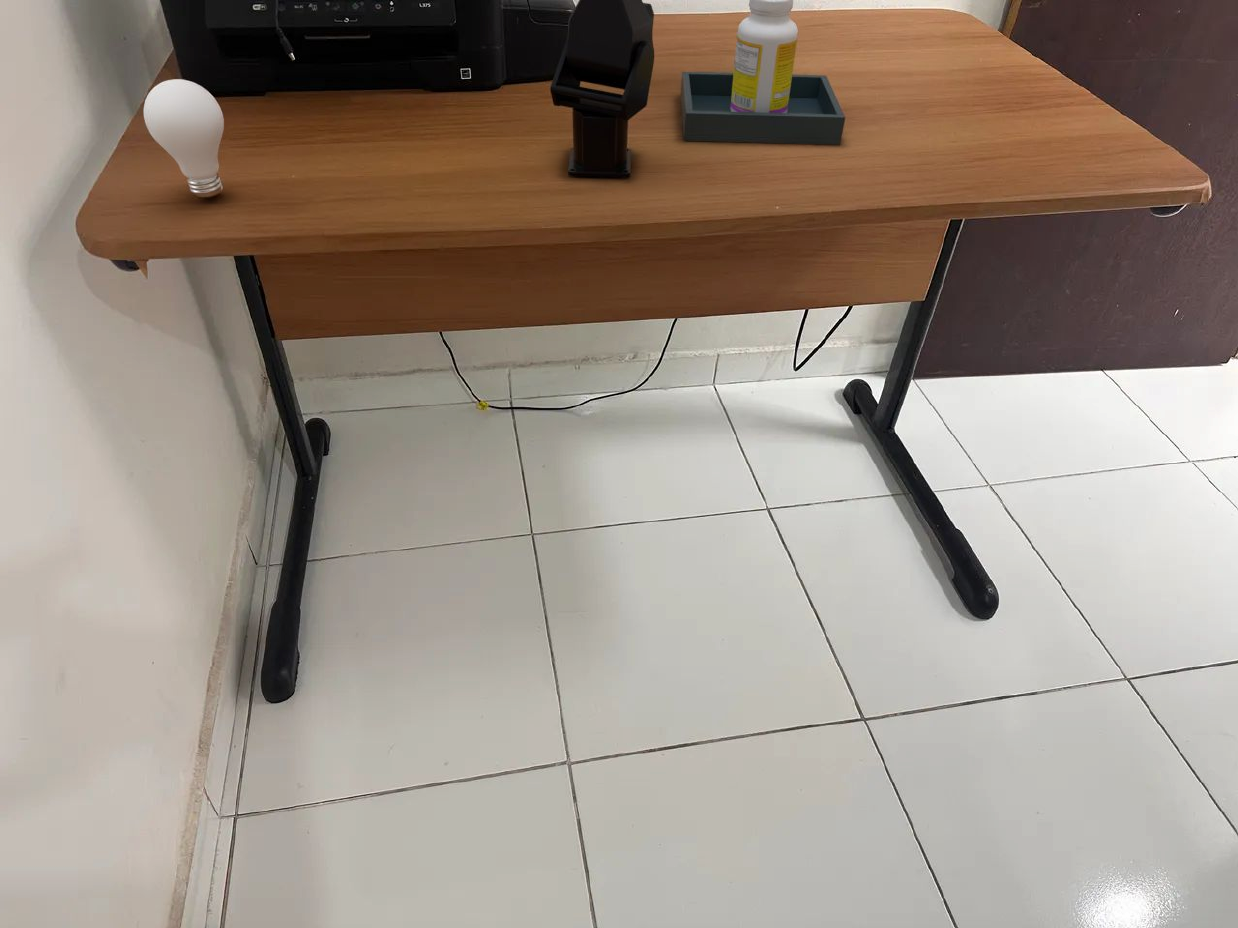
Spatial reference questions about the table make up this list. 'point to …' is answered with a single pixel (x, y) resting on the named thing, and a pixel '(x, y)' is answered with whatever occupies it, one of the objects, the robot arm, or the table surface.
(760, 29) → the supplement bottle
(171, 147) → the light bulb
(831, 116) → the tray
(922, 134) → the table surface
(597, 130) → the robot arm
